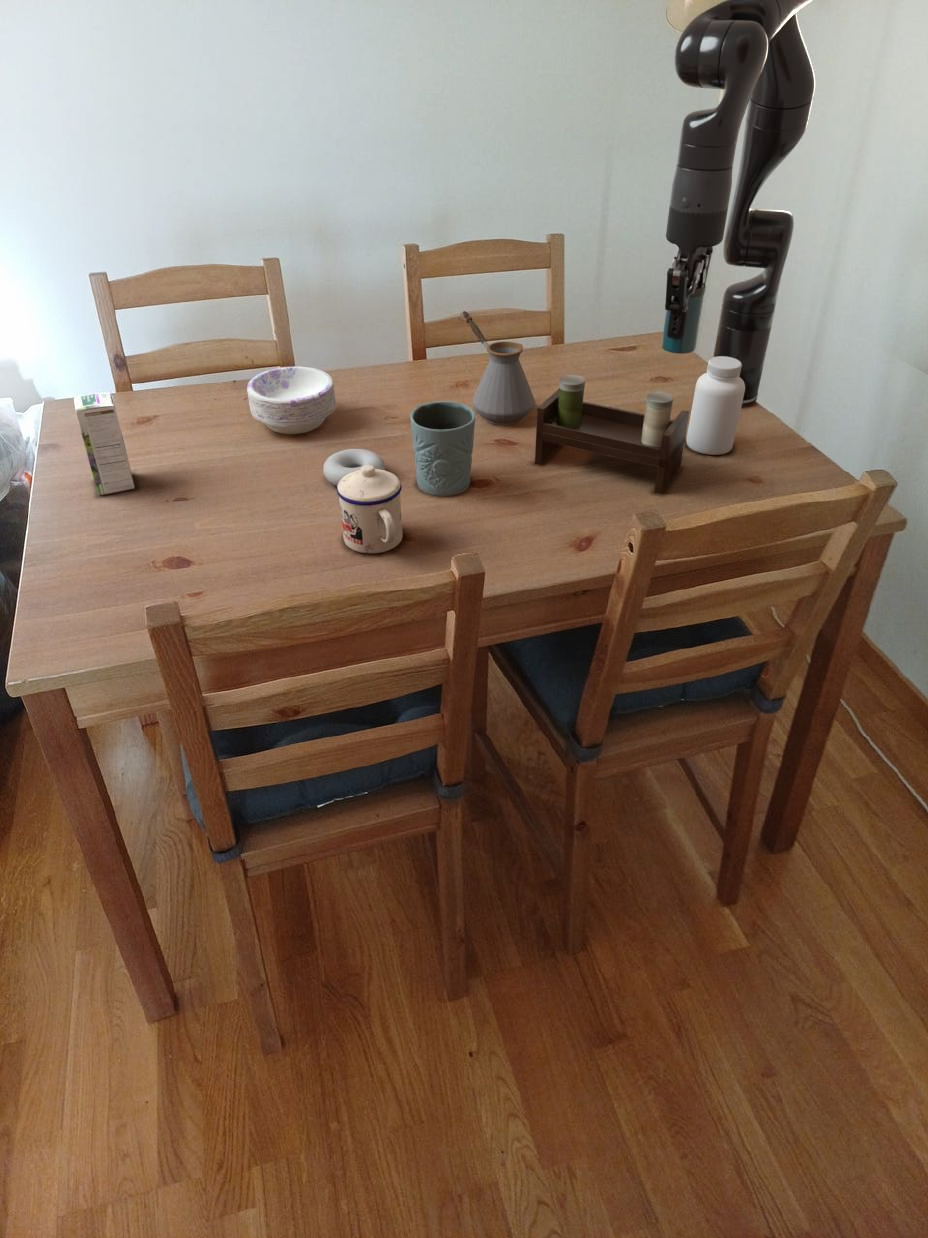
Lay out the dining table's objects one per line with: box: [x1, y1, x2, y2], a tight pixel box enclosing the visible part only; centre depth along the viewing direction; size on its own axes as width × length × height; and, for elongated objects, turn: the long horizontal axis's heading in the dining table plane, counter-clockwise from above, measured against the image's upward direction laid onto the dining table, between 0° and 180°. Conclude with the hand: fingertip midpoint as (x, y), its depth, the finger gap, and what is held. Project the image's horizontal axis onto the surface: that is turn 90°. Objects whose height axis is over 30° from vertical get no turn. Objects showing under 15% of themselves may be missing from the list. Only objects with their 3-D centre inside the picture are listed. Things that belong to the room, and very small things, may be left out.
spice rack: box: [534, 374, 690, 495], centre depth 142 cm, size 10×22×14 cm, turn 62°
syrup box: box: [73, 392, 136, 496], centre depth 138 cm, size 6×6×14 cm
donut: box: [322, 448, 386, 487], centre depth 143 cm, size 10×4×10 cm
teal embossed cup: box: [409, 400, 476, 497], centre depth 138 cm, size 10×10×12 cm
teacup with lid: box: [336, 465, 403, 555], centre depth 124 cm, size 12×9×12 cm
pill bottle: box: [685, 356, 745, 456], centre depth 147 cm, size 8×8×15 cm
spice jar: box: [661, 281, 707, 355], centre depth 124 cm, size 5×5×9 cm
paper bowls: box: [246, 366, 337, 435], centre depth 158 cm, size 15×15×8 cm
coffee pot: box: [457, 310, 536, 426], centre depth 161 cm, size 21×12×15 cm, turn 28°
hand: (680, 330), depth 126 cm, fingers closed on spice jar, 4 cm apart
